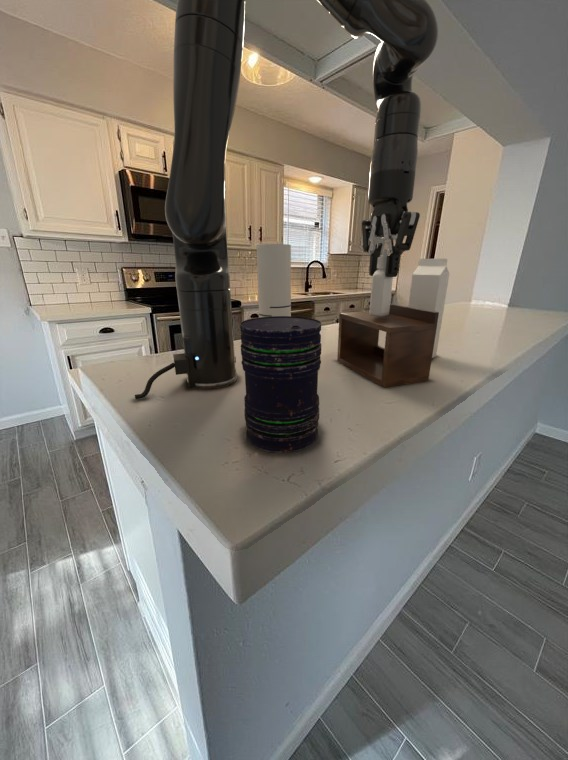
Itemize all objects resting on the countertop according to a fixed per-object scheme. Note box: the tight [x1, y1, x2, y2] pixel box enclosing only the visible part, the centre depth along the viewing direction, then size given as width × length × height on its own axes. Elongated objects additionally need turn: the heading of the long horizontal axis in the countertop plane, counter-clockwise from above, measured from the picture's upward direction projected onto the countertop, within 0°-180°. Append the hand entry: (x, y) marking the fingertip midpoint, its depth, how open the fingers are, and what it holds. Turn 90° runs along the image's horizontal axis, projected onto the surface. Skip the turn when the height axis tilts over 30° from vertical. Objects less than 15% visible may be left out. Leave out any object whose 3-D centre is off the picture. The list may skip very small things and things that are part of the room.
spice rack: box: [336, 303, 439, 388], centre depth 66 cm, size 10×18×13 cm, turn 20°
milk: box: [407, 258, 450, 359], centre depth 74 cm, size 6×6×22 cm
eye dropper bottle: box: [368, 248, 394, 316], centre depth 62 cm, size 4×6×12 cm
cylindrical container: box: [256, 243, 292, 318], centre depth 72 cm, size 7×7×25 cm
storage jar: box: [239, 315, 322, 454], centre depth 41 cm, size 10×10×15 cm
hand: (382, 275), depth 61 cm, fingers closed on eye dropper bottle, 4 cm apart
